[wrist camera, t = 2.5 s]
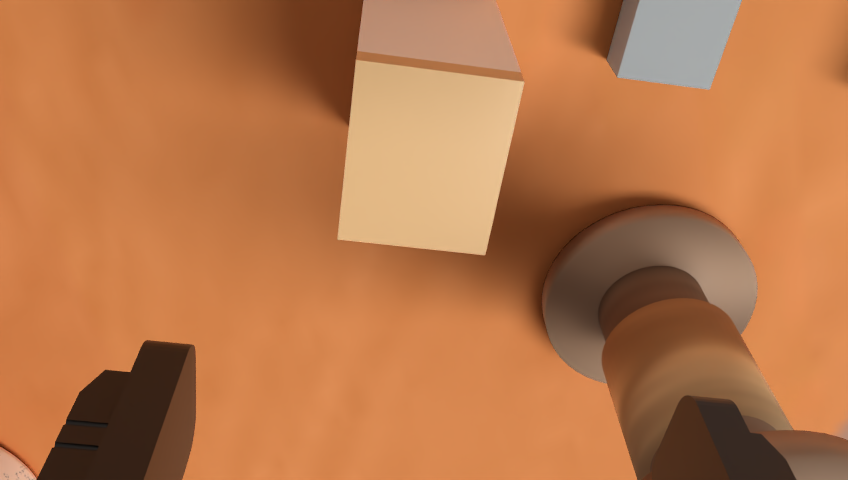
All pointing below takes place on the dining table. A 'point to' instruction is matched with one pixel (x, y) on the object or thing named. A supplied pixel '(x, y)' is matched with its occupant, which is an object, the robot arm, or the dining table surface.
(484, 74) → the tan rectangular block
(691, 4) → the gray notched plate
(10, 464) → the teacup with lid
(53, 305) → the dining table surface
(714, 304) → the doorknob
